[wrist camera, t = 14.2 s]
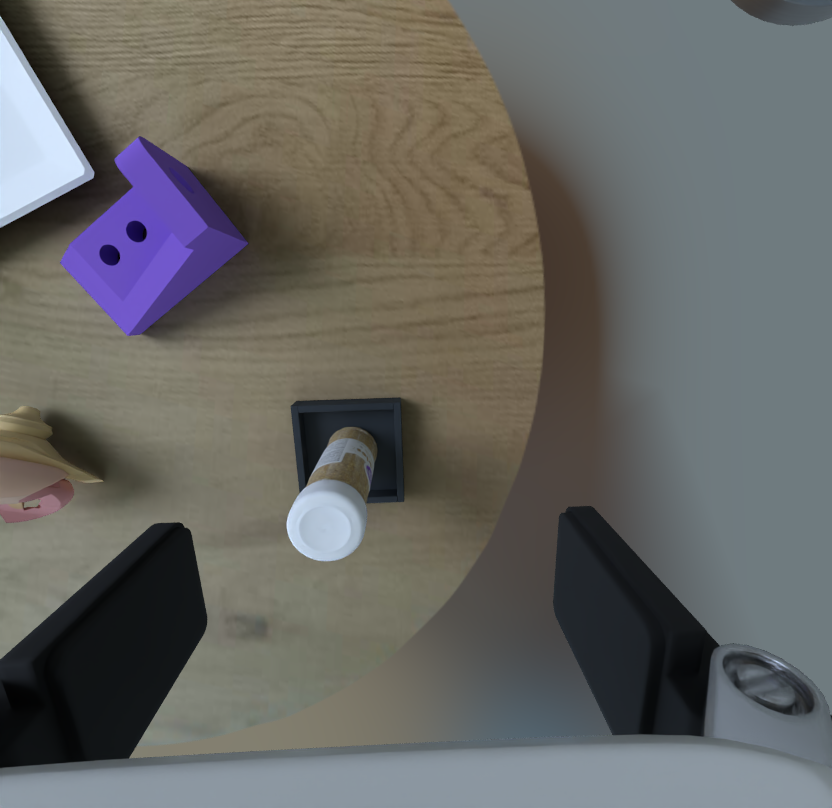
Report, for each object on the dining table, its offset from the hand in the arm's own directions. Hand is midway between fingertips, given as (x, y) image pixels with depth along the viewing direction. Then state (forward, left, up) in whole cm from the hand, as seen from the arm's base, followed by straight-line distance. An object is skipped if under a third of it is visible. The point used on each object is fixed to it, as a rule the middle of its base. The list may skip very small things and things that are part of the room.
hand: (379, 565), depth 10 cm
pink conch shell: (+30, +6, -26) cm, 40 cm away
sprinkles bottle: (+4, +6, -25) cm, 26 cm away
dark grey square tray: (+4, +6, -26) cm, 27 cm away
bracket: (+18, -11, -26) cm, 33 cm away
